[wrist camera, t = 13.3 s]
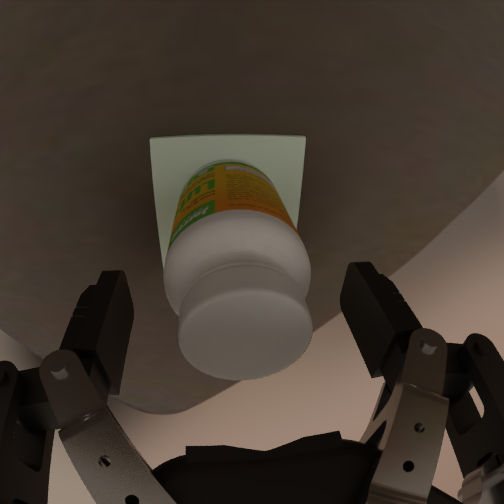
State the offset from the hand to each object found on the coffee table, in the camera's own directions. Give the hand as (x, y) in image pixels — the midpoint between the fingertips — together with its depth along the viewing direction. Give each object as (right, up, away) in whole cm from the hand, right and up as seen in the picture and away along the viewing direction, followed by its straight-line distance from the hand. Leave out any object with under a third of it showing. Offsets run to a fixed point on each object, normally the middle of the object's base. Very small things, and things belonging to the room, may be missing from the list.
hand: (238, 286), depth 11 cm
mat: (-1, +4, +6) cm, 8 cm away
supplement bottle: (-1, +4, +6) cm, 7 cm away
